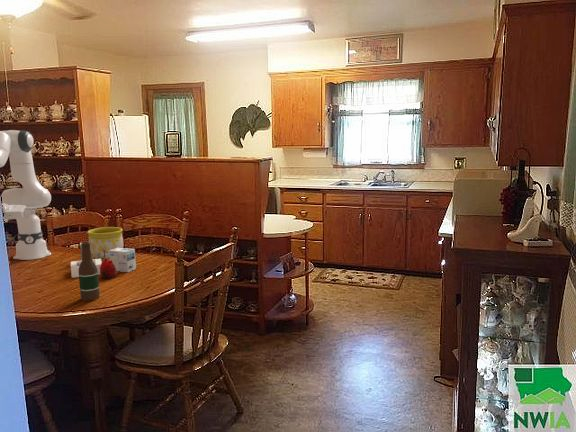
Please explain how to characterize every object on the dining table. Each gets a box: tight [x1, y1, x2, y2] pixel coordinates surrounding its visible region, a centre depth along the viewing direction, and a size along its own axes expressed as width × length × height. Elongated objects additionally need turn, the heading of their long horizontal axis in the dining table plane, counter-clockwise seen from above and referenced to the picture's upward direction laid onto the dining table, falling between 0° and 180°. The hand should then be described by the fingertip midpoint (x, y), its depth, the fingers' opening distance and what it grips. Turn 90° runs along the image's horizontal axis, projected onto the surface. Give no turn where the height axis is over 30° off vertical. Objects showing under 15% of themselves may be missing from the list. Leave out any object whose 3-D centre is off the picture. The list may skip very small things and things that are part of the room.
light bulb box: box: [110, 247, 137, 273], centre depth 238 cm, size 11×7×11 cm, turn 71°
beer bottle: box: [78, 241, 100, 302], centre depth 196 cm, size 8×8×24 cm
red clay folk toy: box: [99, 249, 117, 280], centre depth 226 cm, size 8×7×15 cm
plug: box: [79, 242, 82, 260], centre depth 234 cm, size 4×4×14 cm
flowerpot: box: [87, 226, 124, 262], centre depth 259 cm, size 18×18×16 cm
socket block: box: [70, 259, 102, 279], centre depth 235 cm, size 12×14×5 cm
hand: (35, 210), depth 226 cm, fingers open, 8 cm apart
